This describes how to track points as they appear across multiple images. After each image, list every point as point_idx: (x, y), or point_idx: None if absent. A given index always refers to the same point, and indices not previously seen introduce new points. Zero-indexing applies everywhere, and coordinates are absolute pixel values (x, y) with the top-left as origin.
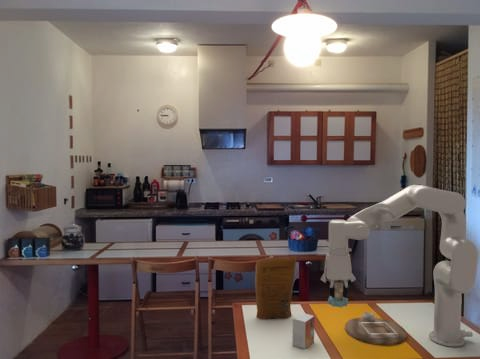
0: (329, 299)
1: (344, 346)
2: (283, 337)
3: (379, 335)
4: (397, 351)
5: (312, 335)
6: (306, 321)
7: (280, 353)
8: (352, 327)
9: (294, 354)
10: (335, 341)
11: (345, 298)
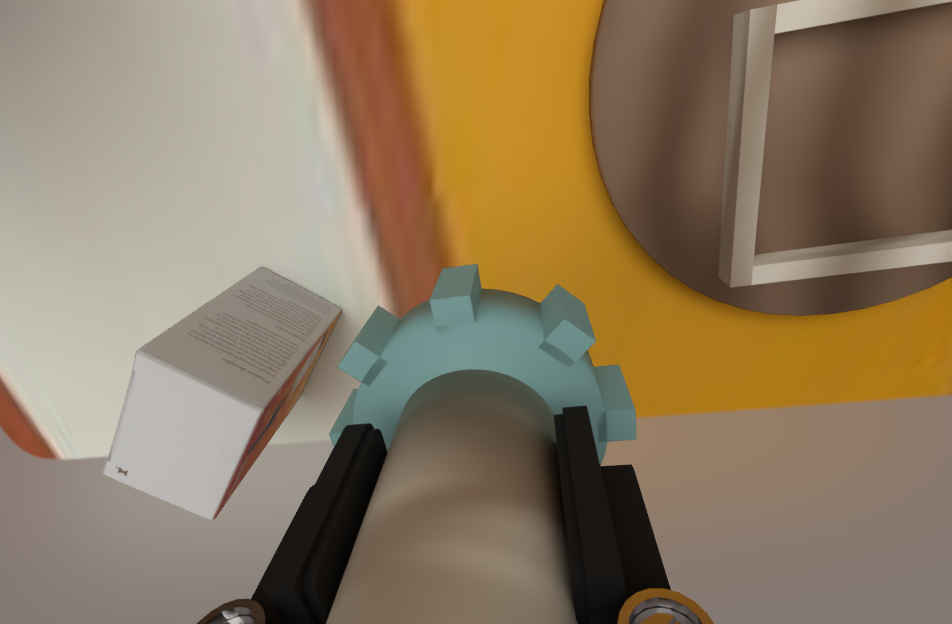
0: None
1: None
2: (145, 267)
3: (818, 273)
4: (840, 372)
5: (314, 355)
6: (218, 510)
7: None
8: (657, 76)
9: None
10: None
11: (603, 413)
